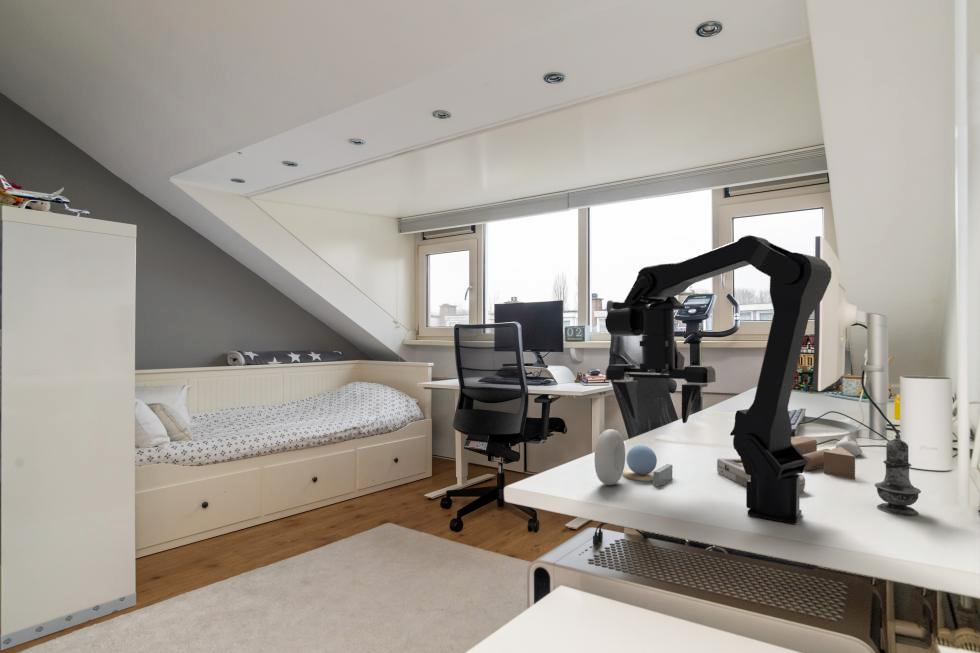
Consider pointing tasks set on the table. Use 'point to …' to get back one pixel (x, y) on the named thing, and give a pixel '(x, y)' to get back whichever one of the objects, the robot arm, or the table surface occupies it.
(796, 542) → the table surface
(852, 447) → the pale two-lobed sculpture
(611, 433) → the white plump rounded part
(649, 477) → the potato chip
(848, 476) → the wooden block set
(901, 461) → the grey stone finial
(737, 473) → the handheld gaming console
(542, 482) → the table surface
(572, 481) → the table surface
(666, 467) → the gray rectangular bar
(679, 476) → the table surface
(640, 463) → the ball
